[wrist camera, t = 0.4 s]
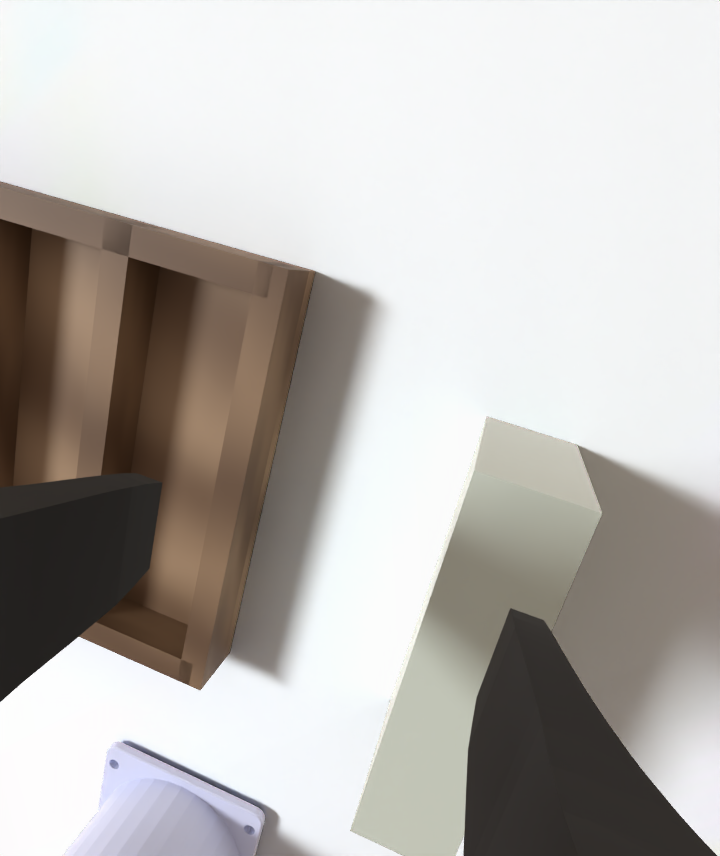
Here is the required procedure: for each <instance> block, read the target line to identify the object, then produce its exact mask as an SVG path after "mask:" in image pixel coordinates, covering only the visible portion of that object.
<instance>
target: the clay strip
mask: <svg viewBox="0 0 720 856" xmlns="http://www.w3.org/2000/svg"><path fill="white" fill-rule="evenodd" d="M601 515H602V511H601V508H600V505H599V502H598V500H597V497H596V494H595V492H594V489H593V486H592V483H591V481H590V478H589V475H588V473H587V470H586V467H585V464H584V462H583V459H582V456H581V454H580V451H579V448H578V445H576V444H573V443H570V442H567V441H564V440H560V439H557V438H554V437H551V436H548V435H544V434H541V433H538V432H535V431H532V430H529V429H525V428H522V427H519V426H516V425H513V424H510V423H506V422H503V421H500V420H497V419H494V418H491V417H486V420H485V423H484V426H483V429H482V432H481V435H480V438H479V441H478V444H477V447H476V449H475V452H474V455H473V458H472V461H471V464H470V467H469V470H468V473H467V476H466V479H465V482H464V485H463V488H462V491H461V494H460V497H459V499H458V502H457V505H456V508H455V511H454V514H453V517H452V520H451V523H450V526H449V529H448V532H447V535H446V538H445V541H444V544H443V546H442V549H441V552H440V555H439V558H438V561H437V564H436V567H435V570H434V573H433V576H432V579H431V582H430V585H429V588H428V591H427V594H426V596H425V599H424V602H423V605H422V608H421V611H420V614H419V617H418V620H417V623H416V626H415V629H414V632H413V635H412V638H411V641H410V644H409V646H408V649H407V652H406V655H405V658H404V661H403V664H402V667H401V670H400V673H399V676H398V679H397V682H396V685H395V688H394V691H393V693H392V696H391V700H390V703H389V706H388V709H387V713H386V716H385V719H384V722H383V726H382V729H381V732H380V735H379V739H378V742H377V745H376V748H375V752H374V755H373V758H372V762H371V765H370V768H369V771H368V775H367V778H366V781H365V784H364V788H363V791H362V794H361V797H360V801H359V804H358V807H357V810H356V814H355V817H354V820H353V824H352V827H351V830H350V831H352V832H354V833H356V834H358V835H360V836H362V837H365V838H367V839H369V840H371V841H373V842H375V843H377V844H379V845H382V846H384V847H386V848H388V849H390V850H392V851H394V852H396V853H399V854H401V855H403V856H455V855H456V853H457V851H458V848H459V846H460V844H461V841H462V839H463V837H464V831H465V805H466V781H467V759H468V746H469V740H470V733H471V727H472V721H473V715H474V709H475V703H476V697H477V695H478V692H479V690H480V687H481V684H482V682H483V679H484V676H485V674H486V671H487V668H488V666H489V663H490V660H491V658H492V655H493V652H494V650H495V647H496V644H497V642H498V639H499V637H500V634H501V631H502V629H503V626H504V623H505V621H506V618H507V615H508V613H509V610H510V608H512V609H515V610H517V611H520V612H523V613H526V614H528V615H531V616H534V617H537V618H540V619H542V620H544V621H545V623H546V624H547V626H548V627H549V629H550V631H551V632H552V629H553V627H554V625H555V622H556V620H557V618H558V615H559V613H560V611H561V609H562V606H563V604H564V602H565V599H566V597H567V595H568V592H569V590H570V588H571V585H572V583H573V581H574V578H575V576H576V574H577V571H578V569H579V567H580V564H581V562H582V560H583V557H584V555H585V553H586V550H587V548H588V546H589V543H590V541H591V539H592V536H593V534H594V532H595V529H596V527H597V525H598V522H599V520H600V518H601Z"/></svg>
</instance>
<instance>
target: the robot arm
mask: <svg viewBox="0 0 720 856" xmlns="http://www.w3.org/2000/svg"><path fill="white" fill-rule="evenodd" d="M161 489H162V482H160V481H157V480H154V479H151V478H149V477H146V476H143V475H140V474H137V473H122V474H109V475H100V476H91V477H83V478H75V479H68V480H60V481H52V482H44V483H37V484H29V485H19V486H9V487H0V702H1V701H2V700H3V699H4V698H5V697H6V696H7V695H9V694H10V693H11V692H12V691H13V690H14V689H15V688H17V687H18V686H19V685H20V684H21V683H22V682H23V681H25V680H26V679H27V678H28V677H30V676H31V675H32V674H33V673H34V672H36V671H37V670H38V669H39V668H41V667H42V666H43V665H44V664H45V663H47V662H48V661H49V660H50V659H52V658H53V657H54V656H55V655H56V654H58V653H59V652H60V651H61V650H63V649H64V648H65V647H66V646H67V645H69V644H70V643H71V642H72V641H74V640H75V639H76V638H77V637H79V636H80V635H81V634H82V633H83V632H85V631H86V630H87V629H88V628H89V627H91V626H92V625H93V624H94V623H95V622H97V621H98V620H99V619H100V618H101V617H103V616H104V615H105V614H106V613H107V612H109V611H110V610H111V609H112V608H113V607H114V606H116V605H117V604H118V603H119V602H120V600H121V599H122V598H123V597H124V596H125V595H126V594H127V593H128V592H129V591H130V590H131V589H132V588H133V587H134V586H135V584H136V583H137V582H138V581H139V580H140V579H141V578H142V577H143V575H144V574H145V573H146V572H147V571H148V570H149V568H150V562H151V555H152V549H153V542H154V535H155V529H156V522H157V516H158V509H159V503H160V496H161ZM264 822H265V815H264V813H263V811H262V810H261V809H260V808H258V807H257V806H254V805H252V804H250V803H248V802H246V801H244V800H242V799H240V798H238V797H236V796H233V795H231V794H229V793H227V792H225V791H223V790H221V789H219V788H217V787H214V786H212V785H210V784H208V783H206V782H204V781H202V780H200V779H198V778H196V777H193V776H191V775H189V774H187V773H185V772H183V771H181V770H179V769H177V768H175V767H172V766H170V765H168V764H166V763H164V762H162V761H160V760H158V759H156V758H154V757H151V756H149V755H147V754H145V753H143V752H141V751H139V750H137V749H135V748H133V747H130V746H128V745H126V744H124V743H122V742H114V743H113V744H112V745H111V746H110V747H109V748H108V750H107V755H106V762H105V768H104V775H103V781H102V788H101V794H100V801H99V807H98V812H97V813H96V814H95V815H94V817H93V818H92V819H91V820H90V822H89V823H88V824H87V825H86V827H85V828H84V829H83V830H82V832H81V833H80V834H79V835H78V837H77V838H76V839H75V840H74V842H73V843H72V844H71V845H70V847H69V848H68V849H67V850H66V852H65V853H64V854H63V855H62V856H255V854H256V851H257V847H258V843H259V840H260V836H261V833H262V829H263V825H264ZM464 856H717V855H716V854H715V853H714V852H713V851H712V850H711V849H710V848H709V847H708V846H707V845H706V844H705V843H704V841H703V840H702V839H701V838H700V837H699V836H698V835H697V834H696V833H695V832H694V831H693V829H692V828H691V827H690V826H689V825H688V824H687V823H686V822H685V821H684V819H683V818H682V817H681V816H680V815H679V814H678V813H677V812H676V810H675V809H674V808H673V807H672V806H671V804H670V803H669V802H668V801H667V799H666V798H665V797H664V796H663V795H662V793H661V792H660V791H659V790H658V789H657V787H656V786H655V785H654V784H653V783H652V781H651V780H650V779H649V778H648V777H647V775H646V774H645V773H644V772H643V770H642V769H641V768H640V767H639V765H638V764H637V763H636V761H635V760H634V759H633V757H632V756H631V755H630V753H629V752H628V751H627V749H626V748H625V747H624V745H623V744H622V742H621V741H620V740H619V738H618V737H617V735H616V734H615V733H614V731H613V730H612V728H611V727H610V726H609V724H608V723H607V721H606V720H605V718H604V717H603V715H602V714H601V712H600V711H599V709H598V708H597V706H596V705H595V703H594V702H593V700H592V699H591V697H590V696H589V694H588V693H587V691H586V689H585V688H584V686H583V685H582V683H581V681H580V680H579V678H578V676H577V675H576V673H575V672H574V670H573V668H572V667H571V665H570V663H569V661H568V660H567V658H566V656H565V655H564V653H563V651H562V650H561V648H560V646H559V644H558V643H557V641H556V639H555V637H554V636H553V634H552V632H551V631H550V629H549V627H548V626H547V624H546V623H545V621H544V620H542V619H540V618H537V617H534V616H531V615H528V614H526V613H523V612H520V611H517V610H515V609H512V608H510V610H509V613H508V615H507V618H506V621H505V623H504V626H503V629H502V631H501V634H500V637H499V639H498V642H497V644H496V647H495V650H494V652H493V655H492V658H491V660H490V663H489V666H488V668H487V671H486V674H485V676H484V679H483V682H482V684H481V687H480V690H479V692H478V695H477V697H476V703H475V709H474V715H473V721H472V727H471V733H470V740H469V746H468V759H467V781H466V805H465V831H464Z"/></svg>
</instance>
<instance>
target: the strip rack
mask: <svg viewBox="0 0 720 856" xmlns="http://www.w3.org/2000/svg"><path fill="white" fill-rule="evenodd" d="M314 276H315V271H313V270H309V269H306V268H302V267H299V266H295V265H292V264H288V263H285V262H281V261H278V260H274V259H271V258H267V257H264V256H260V255H257V254H253V253H250V252H246V251H243V250H239V249H236V248H232V247H229V246H225V245H222V244H218V243H214V242H211V241H207V240H204V239H200V238H197V237H193V236H190V235H186V234H183V233H179V232H176V231H172V230H169V229H165V228H162V227H158V226H155V225H151V224H148V223H144V222H141V221H137V220H134V219H130V218H127V217H123V216H120V215H116V214H113V213H109V212H106V211H102V210H98V209H95V208H91V207H88V206H84V205H81V204H77V203H74V202H70V201H67V200H63V199H60V198H56V197H53V196H49V195H46V194H42V193H39V192H35V191H32V190H28V189H25V188H21V187H18V186H14V185H11V184H7V183H4V182H0V487H9V486H19V485H29V484H37V483H44V482H52V481H60V480H68V479H75V478H83V477H91V476H100V475H109V474H122V473H137V474H140V475H143V476H146V477H149V478H151V479H154V480H157V481H160V482H162V489H161V496H160V503H159V509H158V516H157V522H156V529H155V535H154V542H153V549H152V555H151V562H150V568H149V570H148V571H147V572H146V573H145V574H144V575H143V577H142V578H141V579H140V580H139V581H138V582H137V583H136V584H135V586H134V587H133V588H132V589H131V590H130V591H129V592H128V593H127V594H126V595H125V596H124V597H123V598H122V599H121V600H120V602H119V603H118V604H117V605H116V606H114V607H113V608H112V609H111V610H110V611H109V612H107V613H106V614H105V615H104V616H103V617H101V618H100V619H99V620H98V621H97V622H95V623H94V624H93V625H92V626H91V627H89V628H88V629H87V630H86V631H85V632H83V633H82V634H81V635H80V636H79V637H81V638H83V639H86V640H88V641H90V642H92V643H95V644H97V645H99V646H101V647H104V648H106V649H108V650H110V651H113V652H115V653H117V654H119V655H122V656H124V657H126V658H128V659H131V660H133V661H135V662H137V663H140V664H142V665H144V666H146V667H149V668H151V669H153V670H155V671H158V672H160V673H162V674H164V675H167V676H169V677H171V678H173V679H176V680H178V681H180V682H182V683H185V684H187V685H189V686H191V687H194V688H196V689H198V690H201V689H202V688H203V686H204V685H205V684H206V682H207V681H208V680H209V679H210V677H211V676H212V675H213V673H214V672H215V671H216V670H217V668H218V667H219V666H220V664H221V663H222V662H223V661H224V659H225V658H226V657H227V655H228V654H229V653H230V650H231V645H232V641H233V636H234V632H235V627H236V623H237V618H238V614H239V610H240V605H241V601H242V596H243V592H244V587H245V583H246V578H247V574H248V569H249V565H250V561H251V556H252V552H253V547H254V543H255V538H256V534H257V529H258V525H259V521H260V516H261V512H262V507H263V503H264V498H265V494H266V489H267V485H268V480H269V476H270V472H271V467H272V463H273V458H274V454H275V449H276V445H277V440H278V436H279V431H280V427H281V423H282V418H283V414H284V409H285V405H286V400H287V396H288V391H289V387H290V382H291V378H292V374H293V369H294V365H295V360H296V356H297V351H298V347H299V342H300V338H301V333H302V329H303V325H304V320H305V316H306V311H307V307H308V302H309V298H310V293H311V289H312V284H313V280H314Z"/></svg>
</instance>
